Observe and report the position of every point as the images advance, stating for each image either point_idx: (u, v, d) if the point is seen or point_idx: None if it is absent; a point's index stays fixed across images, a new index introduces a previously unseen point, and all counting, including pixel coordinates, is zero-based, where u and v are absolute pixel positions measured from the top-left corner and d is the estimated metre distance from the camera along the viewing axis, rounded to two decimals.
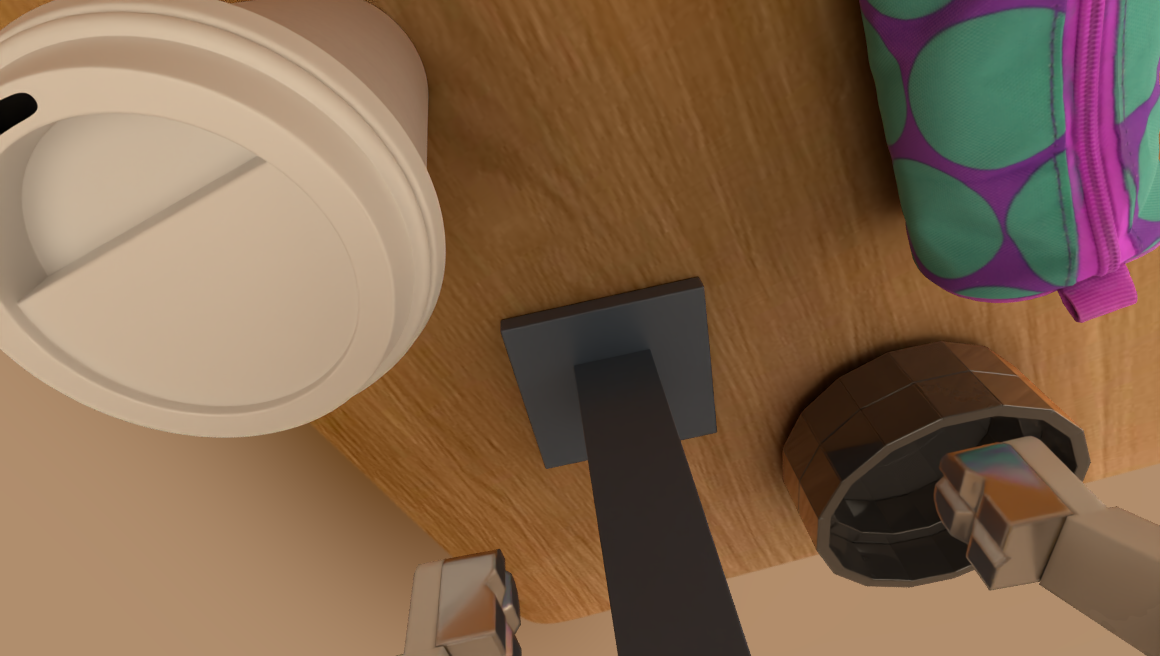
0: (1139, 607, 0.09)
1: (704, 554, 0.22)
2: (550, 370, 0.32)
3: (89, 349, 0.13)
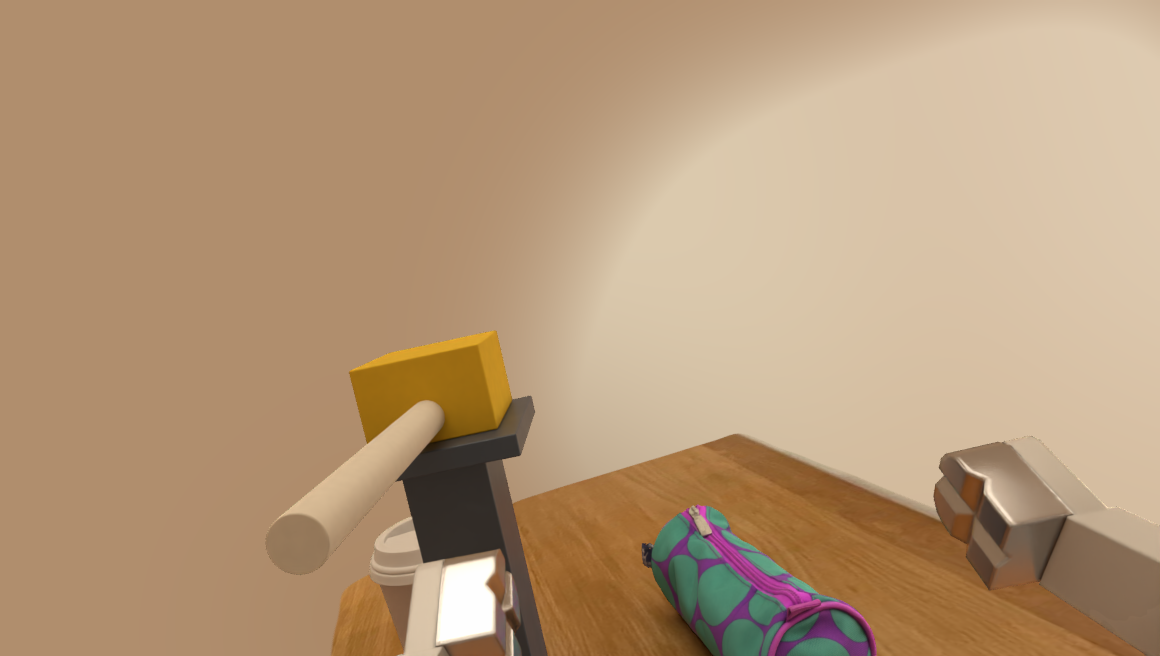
0: (1139, 606, 0.09)
1: None
2: None
3: (390, 543, 0.48)
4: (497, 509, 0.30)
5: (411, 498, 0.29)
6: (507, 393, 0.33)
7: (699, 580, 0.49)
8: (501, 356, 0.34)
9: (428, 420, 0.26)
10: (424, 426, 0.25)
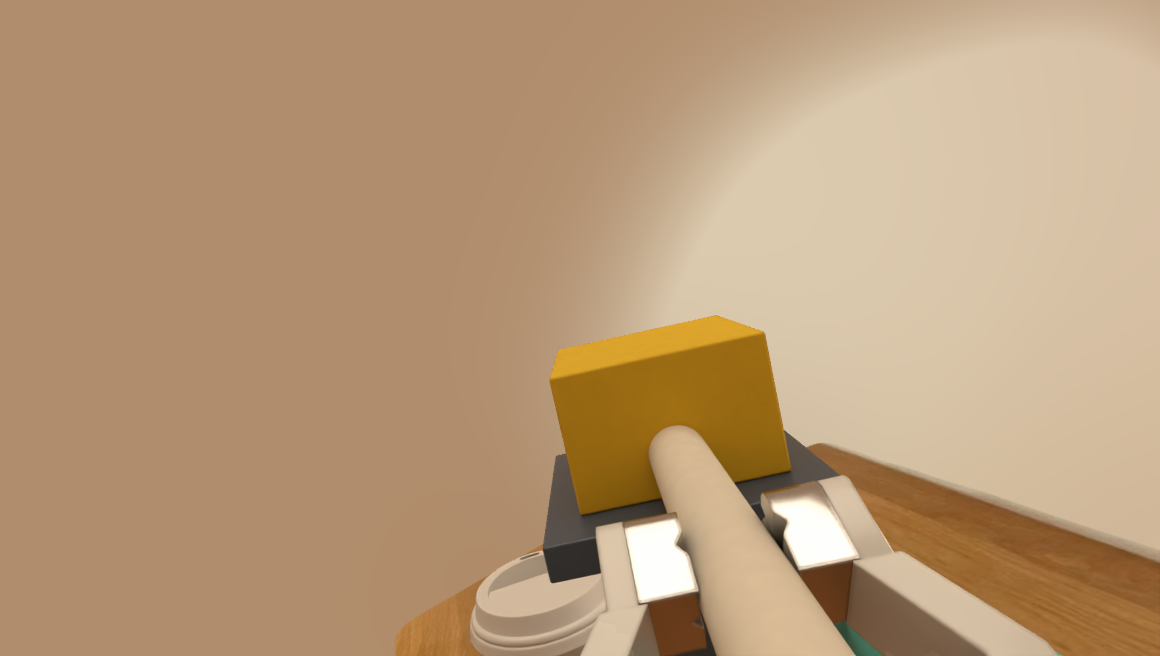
0: (918, 652, 0.09)
1: None
2: None
3: (497, 600, 0.37)
4: None
5: None
6: None
7: None
8: None
9: (720, 463, 0.15)
10: (729, 476, 0.14)
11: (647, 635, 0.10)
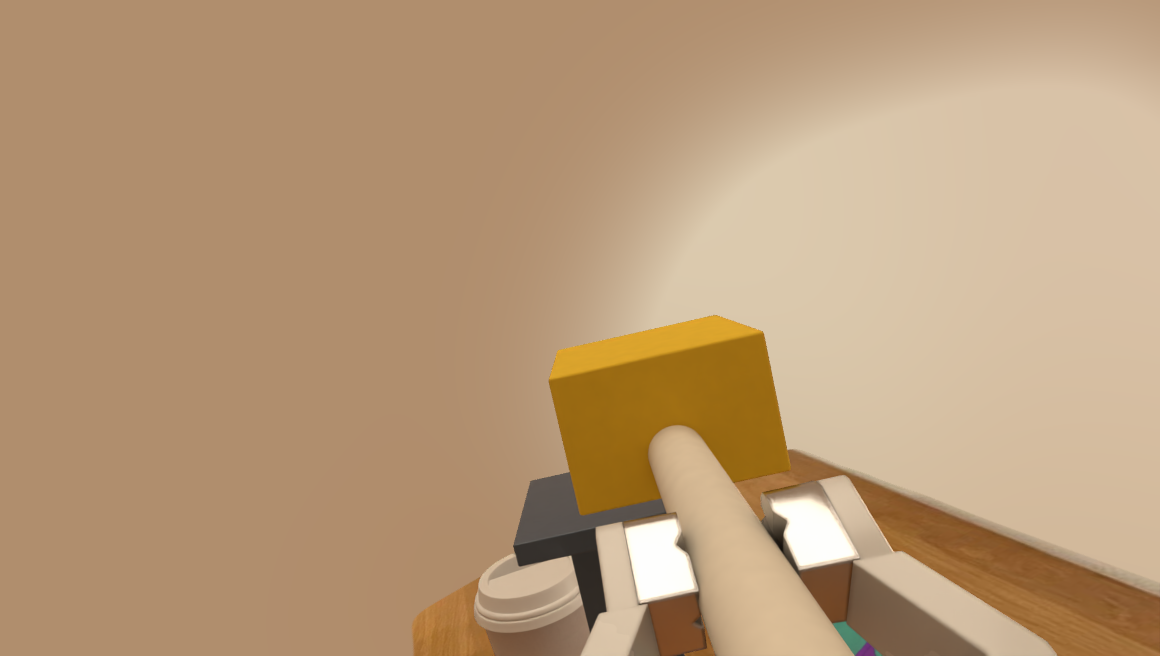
0: (918, 652, 0.09)
1: None
2: None
3: (494, 586, 0.48)
4: None
5: (578, 566, 0.28)
6: None
7: None
8: None
9: (719, 463, 0.15)
10: (728, 476, 0.14)
11: (647, 635, 0.10)
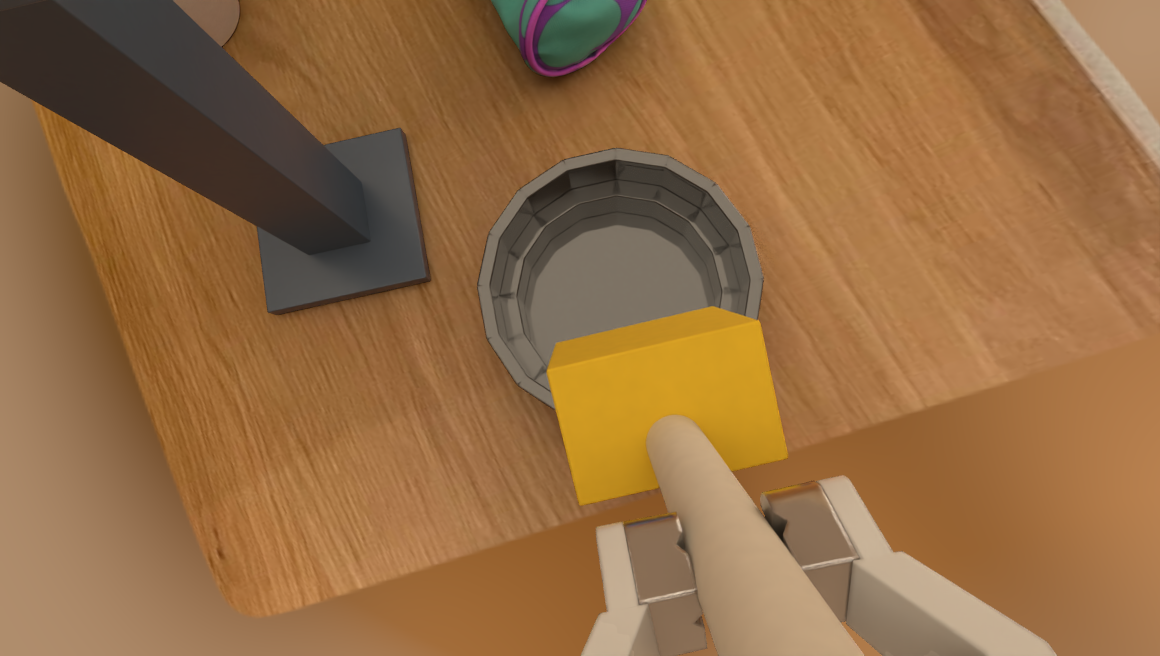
0: (918, 652, 0.09)
1: None
2: None
3: None
4: (80, 15, 0.18)
5: None
6: None
7: None
8: None
9: (716, 451, 0.15)
10: (725, 464, 0.14)
11: (647, 635, 0.10)
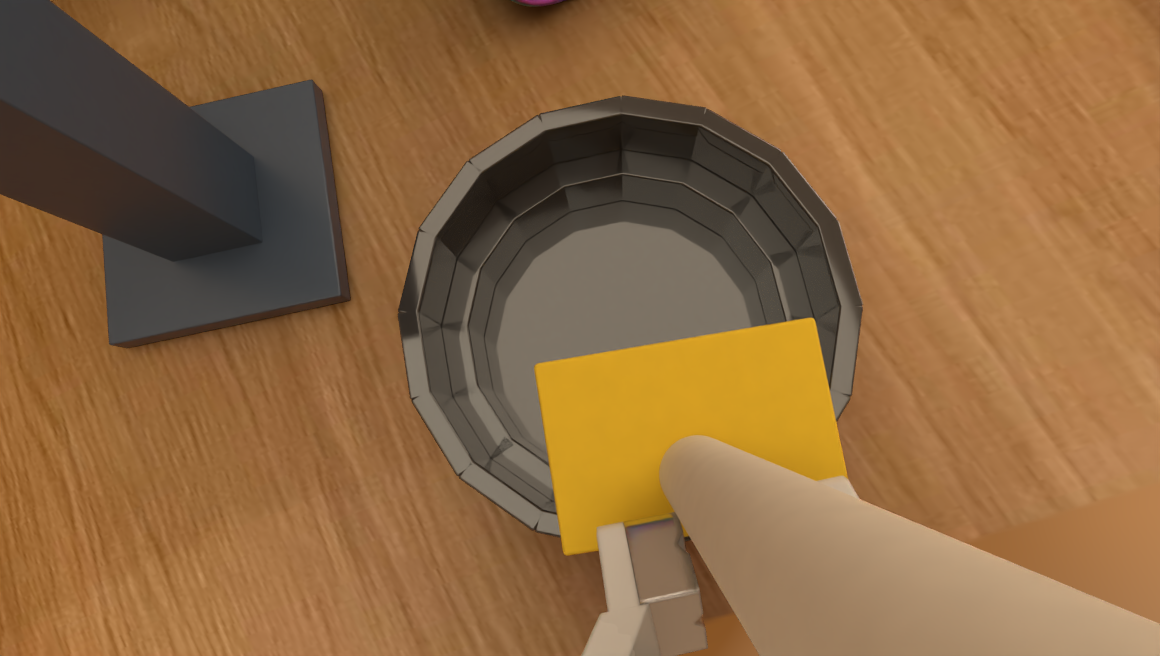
0: None
1: None
2: None
3: None
4: None
5: None
6: None
7: None
8: None
9: None
10: None
11: (648, 635, 0.10)
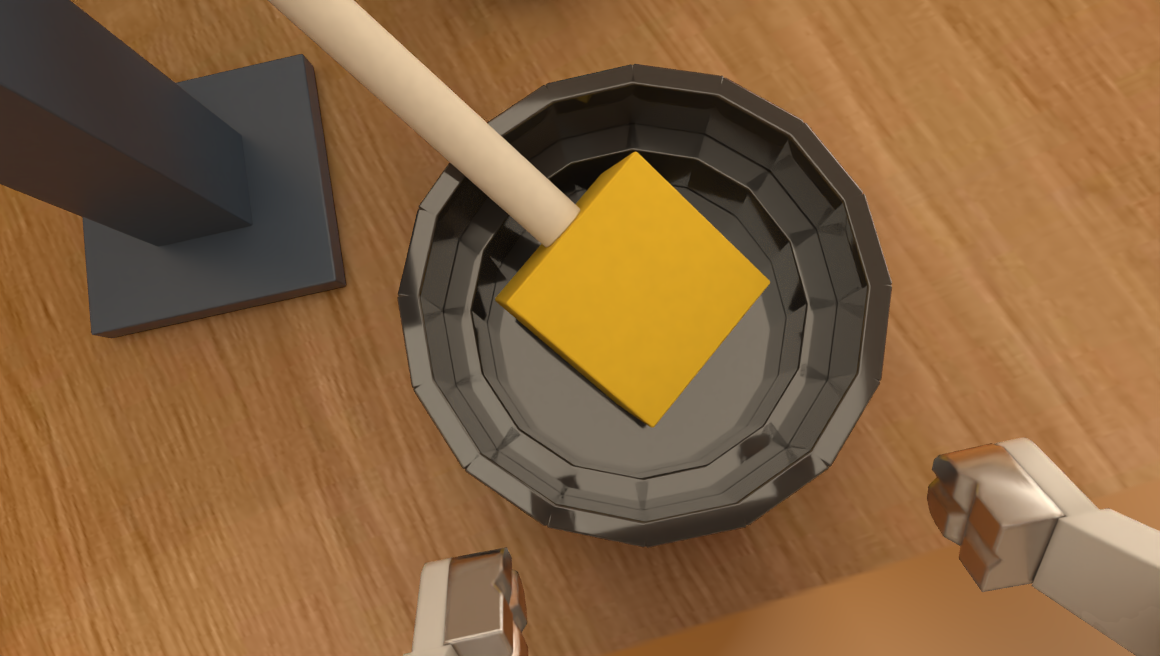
0: (1131, 609, 0.09)
1: None
2: None
3: None
4: None
5: None
6: None
7: None
8: None
9: None
10: None
11: None
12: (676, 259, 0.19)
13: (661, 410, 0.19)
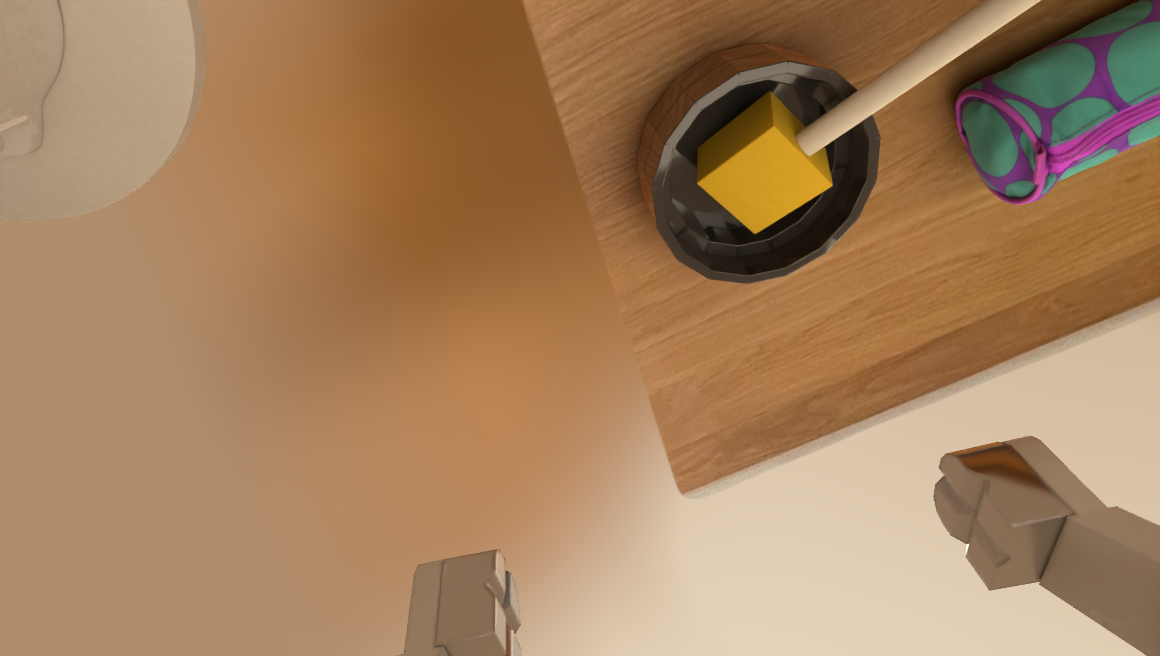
0: (1139, 607, 0.09)
1: None
2: None
3: None
4: None
5: None
6: None
7: None
8: None
9: None
10: None
11: None
12: (776, 198, 0.41)
13: (704, 187, 0.41)
